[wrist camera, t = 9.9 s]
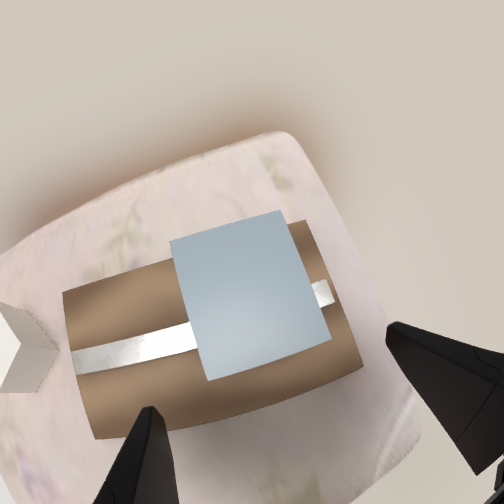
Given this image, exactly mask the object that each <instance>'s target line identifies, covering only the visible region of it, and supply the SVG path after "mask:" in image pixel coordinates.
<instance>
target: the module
mask: <svg viewBox="0 0 504 504" xmlns="http://www.w3.org/2000/svg"><path fill="white" fill-rule="evenodd" d="M169 243H170V247H171V251H172V256H173V260H174V264H175V268H176V273H177V277H178V281H179V285H180V288H181V292H182V296H183V300H184V304H185V307H186V311H187V315H188V318H189V322H190V325H191V329H192V332H193V336H194V339H195V342H196V346H197V349H198V352H199V355H200V358H201V362H202V365H203V368H204V371H205V374H206V377H207V380H208V381H210V380H214V379H217V378H221V377H225V376H228V375H231V374H235V373H238V372H241V371H245V370H248V369H251V368H254V367H257V366H260V365H263V364H266V363H269V362H272V361H275V360H278V359H281V358H284V357H286V356H289V355H292V354H295V353H297V352H300V351H303V350H305V349H308V348H311V347H313V346H316V345H318V344H321V343H323V342H326V341H328V340H330V339H332V338H331V335H330V332H329V330H328V327H327V324H326V322H325V319H324V316H323V314H322V311H321V308H320V306H319V303H318V301H317V298H316V296H315V293H314V290H313V288H312V285H311V283H310V280H309V278H308V275H307V273H306V270H305V268H304V265H303V263H302V260H301V258H300V255H299V253H298V250H297V248H296V246H295V243H294V241H293V238H292V236H291V234H290V231H289V229H288V226H287V224H286V222H285V219H284V217H283V215H282V212H281V210H278V211H274V212H270V213H267V214H263V215H259V216H256V217H252V218H248V219H245V220H241V221H238V222H234V223H230V224H227V225H223V226H220V227H216V228H213V229H210V230H206V231H203V232H199V233H196V234H193V235H189V236H186V237H182V238H179V239H176V240H173V241H169Z"/></svg>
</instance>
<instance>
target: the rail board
mask: <svg viewBox="0 0 504 504" xmlns="http://www.w3.org/2000/svg"><path fill="white" fill-rule="evenodd" d="M287 226H288V229H289V231H290V234H291V236H292V238H293V241H294V243H295V246H296V248H297V250H298V253H299V255H300V258H301V260H302V263H303V265H304V268H305V270H306V273H307V275H308V278H309V280H310V283H311V285H312V288H313V290H314V293H315V296H316V298H317V301H318V303H319V306H320V308H321V311H322V314H323V316H324V319H325V322H326V324H327V327H328V330H329V332H330V335H331V338H332V339H330V340H328V341H326V342H323V343H321V344H318V345H316V346H313V347H311V348H308V349H305V350H303V351H300V352H297V353H295V354H292V355H289V356H286V357H284V358H281V359H278V360H275V361H272V362H269V363H266V364H263V365H260V366H257V367H254V368H251V369H248V370H245V371H241V372H238V373H235V374H231V375H228V376H225V377H221V378H217V379H214V380H210V381H208V380H207V377H206V374H205V371H204V368H203V365H202V362H201V358H200V355H199V352H198V349H197V346H196V342H195V339H194V336H193V332H192V329H191V325H190V322H189V318H188V315H187V311H186V307H185V304H184V300H183V296H182V292H181V288H180V285H179V281H178V277H177V273H176V268H175V264H174V260H173V258H171V259H167V260H164V261H161V262H157V263H154V264H151V265H147V266H144V267H141V268H138V269H134V270H131V271H128V272H125V273H121V274H118V275H115V276H112V277H109V278H105V279H102V280H99V281H96V282H93V283H90V284H86V285H83V286H80V287H77V288H74V289H71V290H68V291H65V292H62V295H63V304H64V313H65V320H66V327H67V334H68V340H69V345H70V351H71V356H72V361H73V365H74V370H75V374H76V378H77V382H78V386H79V390H80V394H81V397H82V401H83V404H84V407H85V411H86V414H87V417H88V420H89V423H90V426H91V429H92V432H93V435H94V437H95V440H96V439H110V438H121V437H127V436H128V434H129V432H130V430H131V428H132V426H133V424H134V422H135V420H136V418H137V417H138V415H139V413H140V411H141V409H142V408H143V407H146V406H154V407H155V408H156V409H157V410H158V412H159V413H160V414H161V415H162V417H163V418H164V421H165V424H166V429H167V431H171V430H176V429H182V428H187V427H191V426H196V425H201V424H205V423H209V422H213V421H217V420H221V419H225V418H229V417H233V416H236V415H240V414H243V413H247V412H250V411H253V410H256V409H260V408H263V407H266V406H269V405H272V404H275V403H278V402H281V401H284V400H286V399H289V398H292V397H295V396H297V395H300V394H303V393H305V392H308V391H310V390H313V389H315V388H318V387H320V386H322V385H325V384H327V383H330V382H332V381H334V380H336V379H339V378H341V377H343V376H345V375H348V374H350V373H352V372H354V371H356V370H358V369H360V368H362V367H364V366H363V363H362V360H361V357H360V354H359V351H358V349H357V346H356V343H355V340H354V337H353V335H352V332H351V329H350V327H349V324H348V321H347V319H346V316H345V313H344V311H343V308H342V306H341V303H340V300H339V298H338V295H337V293H336V290H335V288H334V285H333V283H332V280H331V278H330V276H329V273H328V271H327V268H326V266H325V264H324V261H323V259H322V256H321V254H320V252H319V249H318V247H317V245H316V242H315V240H314V238H313V236H312V233H311V231H310V229H309V227H308V224H307V222H306V220H302V221H299V222H295V223H291V224H288V225H287Z"/></svg>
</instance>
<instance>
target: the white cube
mask: <svg viewBox="0 0 504 504" xmlns="http://www.w3.org/2000/svg"><path fill="white" fill-rule="evenodd" d="M58 353H59V349H58V348H57V347H56V346H55V345H54V344H53V342H52V341H51V340H50V339H49V338H48V336H47V335H46V334H45V333H44V331H43V330H42V329H41V328H40V326H39V325H38V324H37V322H36V321H35V320H34V318H33V317H32V316H31V314H30V313H29V312H26V311H23V310H20V309H18V308H15V307H12V306H10V305H7V304H5V303H2V302H0V393H32V392H37V391H38V389H39V387H40V385H41V383H42V381H43V380H44V378H45V376H46V374H47V372H48V370H49V369H50V367H51V365H52V363H53V361H54V360H55V358H56V356H57V354H58Z"/></svg>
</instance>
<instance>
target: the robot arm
mask: <svg viewBox="0 0 504 504" xmlns="http://www.w3.org/2000/svg"><path fill="white" fill-rule="evenodd" d="M385 341H386V345H387V347H388V348H389V350H390V352H391V353H392V355H393V357H394V358H395V360H396V362H397V363H398V365H399V367H400V368H401V370H402V372H403V373H404V375H405V376H406V377H407V379H408V380H409V381H410V383H411V384H412V385H413V387H414V388H415V389H416V391H417V392H418V393H419V395H420V396H421V397H422V399H423V400H424V401H425V403H426V404H427V405H428V407H429V408H430V409H431V411H432V412H433V414H434V415H435V416H436V418H437V419H438V421H439V422H440V423H441V425H442V426H443V427H444V429H445V430H446V432H447V433H448V435H449V436H450V438H451V439H452V440H453V442H454V443H455V445H456V446H457V448H458V449H459V451H460V452H461V454H462V455H463V457H464V458H465V460H466V461H467V463H468V464H469V466H470V467H471V468H472V470H473V472H474V473H475V475H476V476H477V475H479V474H480V473H481V472H482V471H484V470H485V469H486V468H487V467H489V466H490V465H491V464H492V463H493V462H495V461H496V460H497V459H498V458H499V457H500V456H501V455H502V454H503V456H504V354H503V353H499V352H494V351H490V350H486V349H482V348H479V347H476V346H472V345H469V344H466V343H463V342H459V341H457V340H453V339H450V338H447V337H444V336H441V335H438V334H435V333H431V332H428V331H426V330H422V329H419V328H416V327H413V326H410V325H407V324H404V323H401V322H398V321H396V322H393V323H391V324H389V325H388V326H387V332H386V339H385ZM494 490H495V491H496V492H495V493H494V494H493V495H492V496H491V497H490V498H489V499H488V500H487V501H486V502H485V503H484V504H504V459H503V460H502V462H500V464H499V465H498V467H497V474H496V481H495V487H494ZM92 504H179V498H178V492H177V485H176V478H175V470H174V462H173V456H172V451H171V447H170V443H169V438H168V434H167V429H166V424H165V421H164V418H163V417H162V415H161V414H160V413H159V412H158V410H157V409H156V408H155V407H154V406H146V407H143V408H142V409H141V411H140V413H139V415H138V417H137V418H136V420H135V422H134V424H133V426H132V428H131V430H130V432H129V434H128V436H127V438H126V440H125V442H124V444H123V446H122V447H121V449H120V451H119V453H118V455H117V457H116V459H115V461H114V463H113V465H112V467H111V469H110V471H109V473H108V475H107V477H106V481H104V483H103V485H102V487H101V489H100V491H99V493H98V495H97V497H96V499H95V500H94V502H93V503H92Z"/></svg>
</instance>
